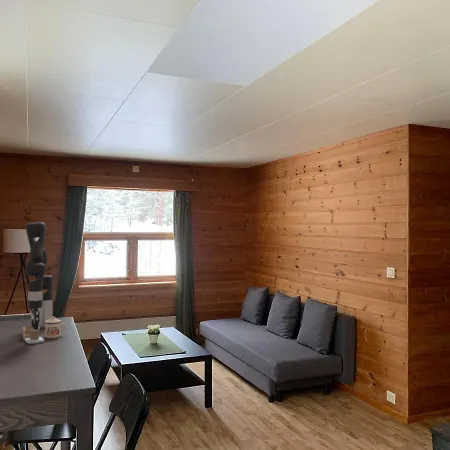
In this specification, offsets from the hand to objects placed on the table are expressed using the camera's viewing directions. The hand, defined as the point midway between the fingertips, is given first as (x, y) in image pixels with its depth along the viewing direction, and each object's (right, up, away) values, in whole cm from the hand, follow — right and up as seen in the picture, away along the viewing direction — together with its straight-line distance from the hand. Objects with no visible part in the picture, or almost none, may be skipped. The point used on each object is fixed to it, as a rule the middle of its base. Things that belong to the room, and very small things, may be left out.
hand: (34, 328), depth 260 cm
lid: (0, -7, 0) cm, 7 cm away
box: (-6, -8, +10) cm, 14 cm away
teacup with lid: (+6, -8, +15) cm, 18 cm away
